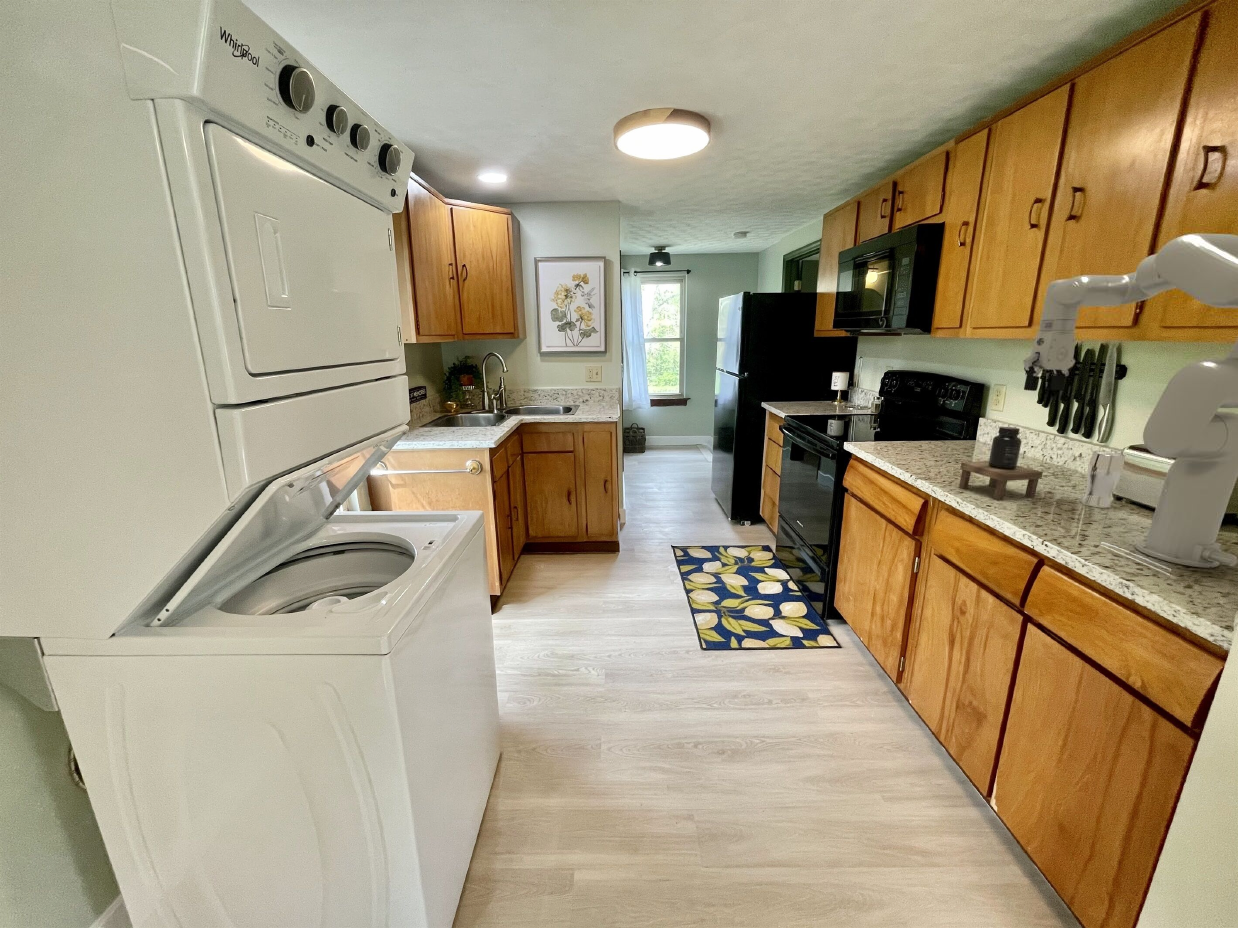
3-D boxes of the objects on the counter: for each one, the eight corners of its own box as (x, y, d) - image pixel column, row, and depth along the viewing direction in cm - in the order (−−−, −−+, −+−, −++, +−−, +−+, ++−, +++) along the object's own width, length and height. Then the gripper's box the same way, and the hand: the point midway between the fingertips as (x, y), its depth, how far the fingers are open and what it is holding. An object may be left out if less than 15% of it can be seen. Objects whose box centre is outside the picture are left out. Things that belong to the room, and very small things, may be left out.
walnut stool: (1036, 498, 147) (1042, 472, 145) (998, 501, 144) (1004, 474, 142) (992, 484, 161) (997, 460, 159) (956, 487, 157) (961, 462, 155)
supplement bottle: (1017, 467, 150) (1026, 428, 147) (1014, 471, 146) (1023, 430, 143) (989, 463, 155) (997, 425, 152) (985, 467, 150) (993, 427, 147)
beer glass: (1119, 508, 139) (1134, 456, 135) (1093, 508, 139) (1107, 456, 135) (1096, 500, 146) (1110, 450, 142) (1072, 500, 146) (1085, 450, 142)
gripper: (1047, 326, 131) (1033, 391, 135) (1095, 327, 135) (1081, 391, 139) (1018, 327, 138) (1006, 389, 142) (1065, 328, 142) (1052, 388, 147)
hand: (1043, 390), depth 141 cm, fingers open, 9 cm apart
